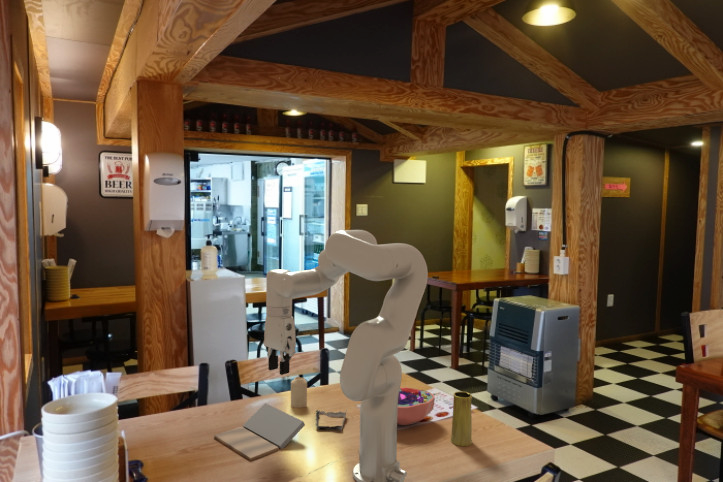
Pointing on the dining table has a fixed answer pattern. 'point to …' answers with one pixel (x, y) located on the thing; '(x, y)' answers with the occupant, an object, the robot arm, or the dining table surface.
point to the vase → (462, 419)
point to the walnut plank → (246, 443)
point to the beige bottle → (299, 392)
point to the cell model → (413, 405)
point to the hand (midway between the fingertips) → (278, 370)
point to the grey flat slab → (274, 425)
